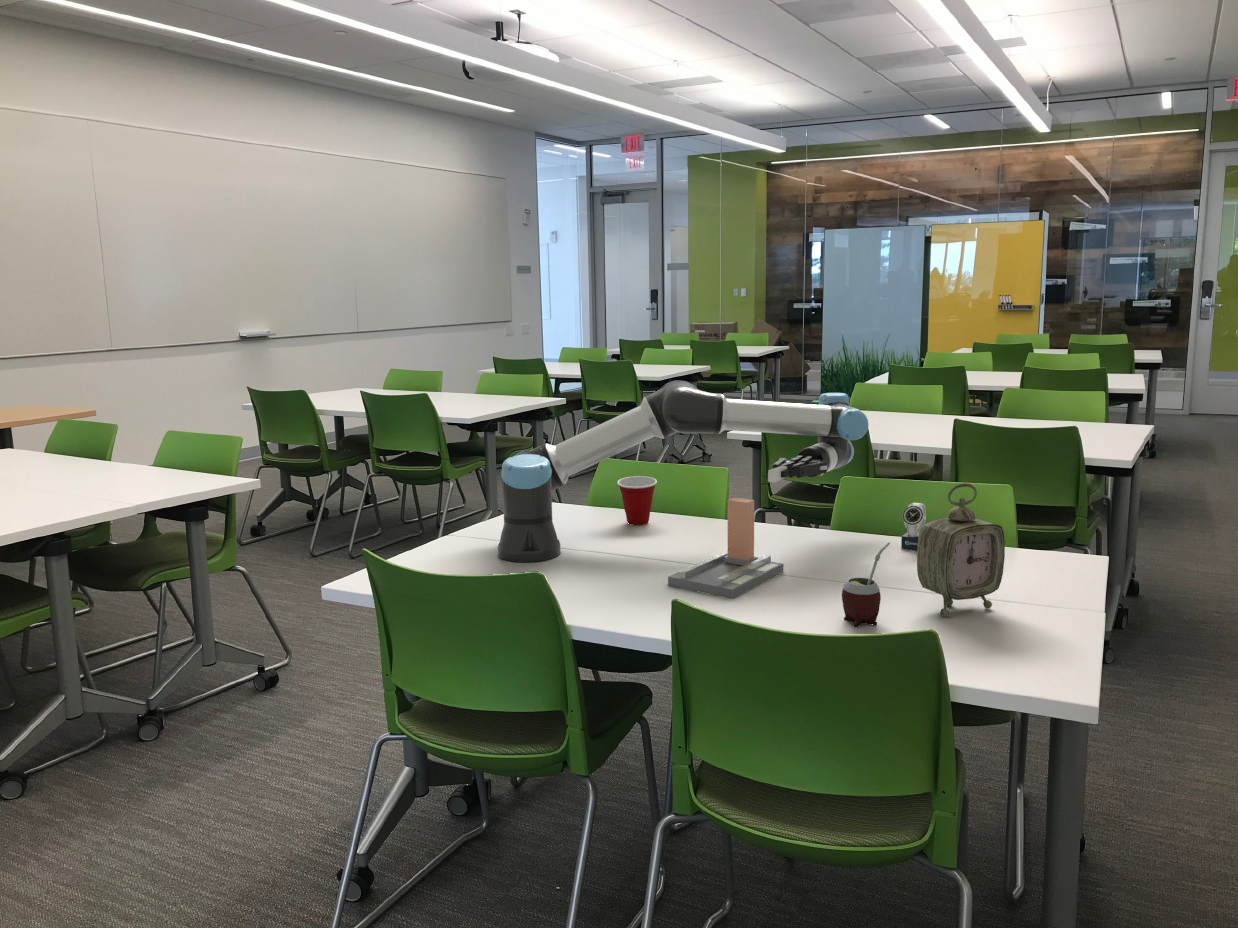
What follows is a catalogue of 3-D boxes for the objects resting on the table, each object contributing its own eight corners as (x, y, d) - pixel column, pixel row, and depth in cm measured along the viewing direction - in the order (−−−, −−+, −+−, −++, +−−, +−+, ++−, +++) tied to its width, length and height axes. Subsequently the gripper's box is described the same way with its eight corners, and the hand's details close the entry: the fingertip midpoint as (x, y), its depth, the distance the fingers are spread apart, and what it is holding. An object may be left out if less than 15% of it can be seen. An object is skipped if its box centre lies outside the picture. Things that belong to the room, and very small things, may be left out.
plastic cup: (614, 527, 254) (613, 483, 251) (621, 518, 264) (620, 475, 262) (655, 528, 252) (654, 484, 250) (660, 518, 262) (659, 476, 260)
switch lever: (723, 562, 212) (723, 499, 209) (732, 557, 215) (732, 496, 212) (748, 566, 208) (749, 503, 205) (757, 562, 211) (758, 499, 208)
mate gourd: (836, 624, 178) (837, 547, 175) (849, 612, 184) (851, 537, 182) (875, 631, 174) (878, 552, 171) (887, 618, 180) (890, 542, 178)
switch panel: (668, 585, 203) (667, 569, 203) (721, 561, 220) (721, 546, 220) (732, 598, 194) (732, 582, 193) (783, 572, 211) (783, 557, 210)
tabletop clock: (943, 621, 178) (948, 491, 174) (910, 607, 186) (915, 482, 182) (1001, 609, 184) (1008, 483, 179) (967, 596, 192) (973, 475, 188)
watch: (898, 550, 226) (899, 505, 224) (909, 542, 233) (910, 499, 231) (922, 553, 223) (923, 508, 221) (932, 546, 230) (934, 501, 228)
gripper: (840, 477, 233) (796, 495, 215) (792, 472, 241) (746, 489, 222) (841, 447, 232) (796, 462, 213) (792, 443, 239) (746, 458, 221)
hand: (771, 476), depth 218 cm, fingers closed
